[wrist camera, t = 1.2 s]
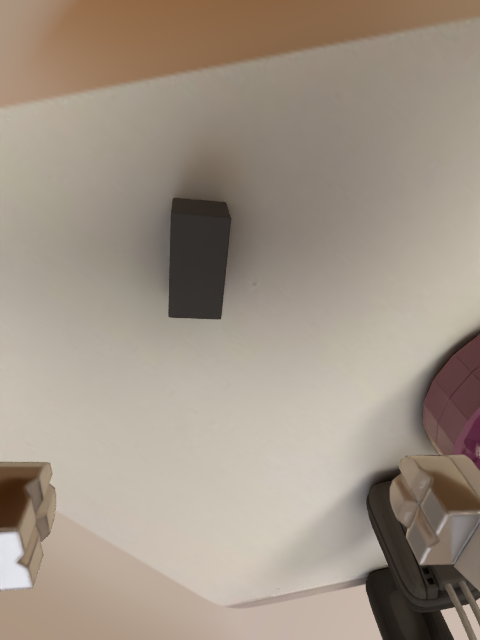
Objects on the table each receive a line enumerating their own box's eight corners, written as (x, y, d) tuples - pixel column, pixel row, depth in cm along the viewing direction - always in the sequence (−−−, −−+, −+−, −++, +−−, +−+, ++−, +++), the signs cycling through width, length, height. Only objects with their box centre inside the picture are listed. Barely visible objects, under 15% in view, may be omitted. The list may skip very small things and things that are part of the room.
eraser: (172, 197, 23) (170, 212, 20) (226, 202, 23) (231, 217, 20) (170, 294, 26) (168, 318, 23) (217, 296, 26) (221, 320, 23)
